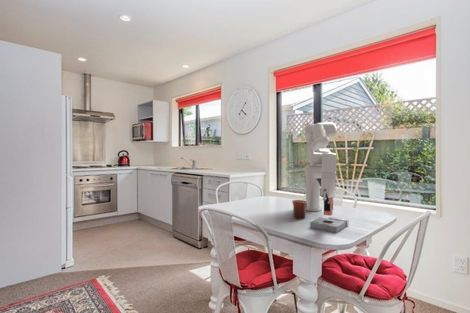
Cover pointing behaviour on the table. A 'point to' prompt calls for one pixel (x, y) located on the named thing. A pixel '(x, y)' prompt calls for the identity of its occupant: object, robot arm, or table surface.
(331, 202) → the pin
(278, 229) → the table surface
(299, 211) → the mug
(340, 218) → the tilted grey slab block
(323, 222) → the square hole plate
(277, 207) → the table surface
